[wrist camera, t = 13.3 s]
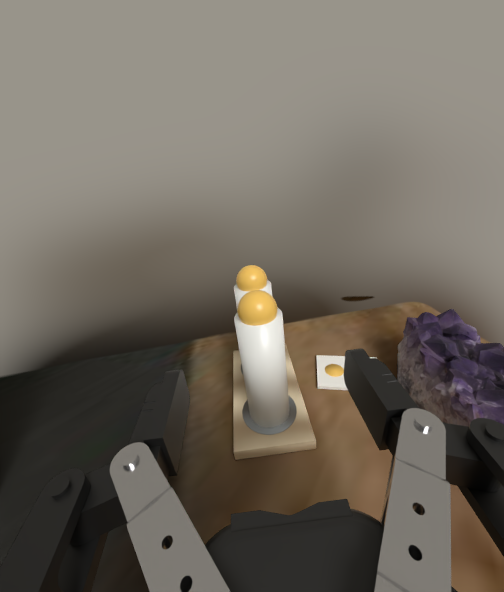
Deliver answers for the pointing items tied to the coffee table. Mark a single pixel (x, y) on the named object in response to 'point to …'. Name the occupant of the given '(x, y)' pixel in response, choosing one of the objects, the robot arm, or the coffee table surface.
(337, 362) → the card
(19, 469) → the coffee table surface
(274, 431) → the rack
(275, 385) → the tube amber
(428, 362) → the geode
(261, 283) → the rack tube
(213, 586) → the robot arm
